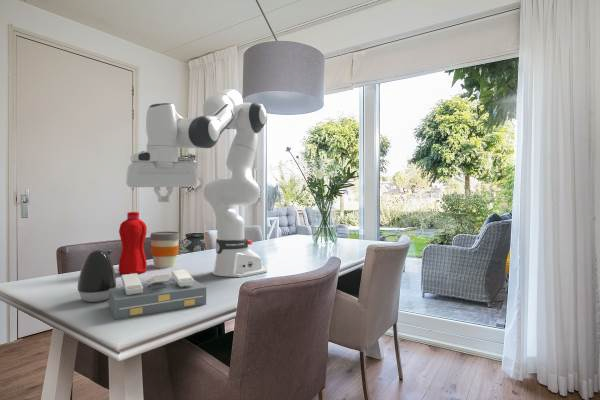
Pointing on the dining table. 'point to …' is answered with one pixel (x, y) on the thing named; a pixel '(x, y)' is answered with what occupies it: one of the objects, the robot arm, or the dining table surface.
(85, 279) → the black rounded dome
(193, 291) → the console
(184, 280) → the rocker
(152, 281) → the block
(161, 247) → the reusable coffee cup
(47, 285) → the dining table surface
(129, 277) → the rocker
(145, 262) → the water bottle
